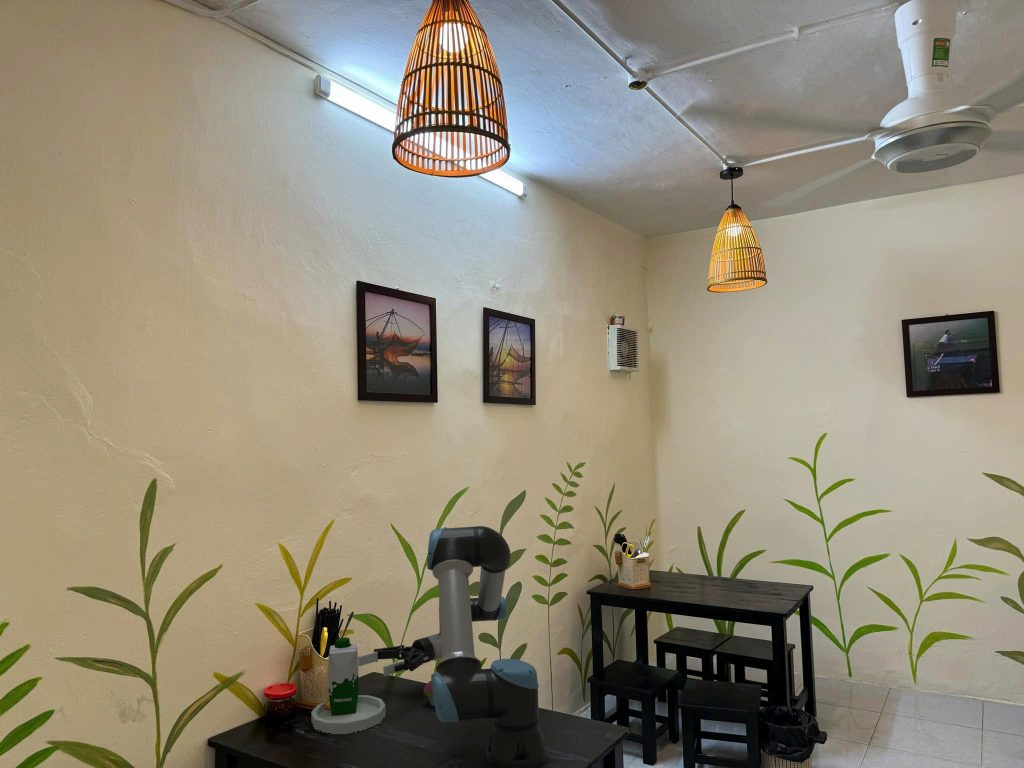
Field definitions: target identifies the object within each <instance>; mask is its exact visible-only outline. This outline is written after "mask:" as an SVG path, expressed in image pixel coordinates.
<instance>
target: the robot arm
mask: <svg viewBox="0 0 1024 768" xmlns="http://www.w3.org/2000/svg"><path fill="white" fill-rule="evenodd" d="M427 547H428V548H427V560H426V561H427V563H426V568H427V570H428V571H429V570H430V571H431V573H432V576H433V577H434V578H435V579H437V583H438V584H437V586H438V617H439V619H438V621H439V623H438V624H439V632H438V633H434V634H431V635H427V636H425V637H421V638H418V639H415V640H414V641H413V642H412V645H411V646H410V645H409V646H405V645H404V644H401V645H396V646H395V645H394V646H389V647H382V648H381V647H380V648H374V649H373V652H370V653H366V654H363V655H360V656H359V655H358V667H361V666H365V665H366V666H367V665H368V664H373V663H378V660H392V659H393V660H394V659H396V660H397V661H396V662H393V663H389V664H387V665H386V664H385V665H383V666H382V668H383V673H382V674H383V677H388V676H390V675H393V674H396V673H400V672H404V671H409V672H413V671H415V670H416V669H418V668H419V667H420V666H422V665H424V664H427V663H430V662H431V661H434V662H435V661H437V660H438V659H441V660H440V661H438V663H437V664H436V671H434V672H432V673H431V675H430V681H431V683H432V690H433V699H434V705H435V707H434V709H435V710H434V711H435V714H436V718H437V719H438V720H439V721H440V722H441V723H459V722H468V721H480V720H482V721H483V720H489V719H490V720H491V719H492V724H493V725H492V726H493V727H492V731H491V735H490V738H489V742H488V745H487V749H486V755H487V756H486V757H487V762H488V764H489V765H491V766H492V767H493V768H539V767H541V766H542V765H543V764H545V763H546V761H547V760H548V747H547V745H546V741H545V739H544V735H543V732H542V730H541V727H540V717H539V716H540V713H539V712H540V711H539V708H540V707H539V682H538V674H537V673H538V672H537V669H536V668H535V667H534V666H533V665H532V664H531V663H529V662H526V661H525V660H520V659H514V658H513V659H512V658H499V659H495V660H493V661H492V662H491V665H490V668H482V667H483V666H482V661H481V660H480V658H478V657H476V655H475V644H474V633H473V631H474V630H473V629H474V628H473V622H489V621H493V622H495V621H500V620H504V619H505V618H506V615H507V604H506V603H507V602H506V599H505V597H504V596H502V594H503V587H504V581H505V575H506V571H507V569H508V567H509V566H510V563H511V548H510V546H509V544H508V542H507V541H506V539H505V538H504V536H503V535H501V534H500V533H499V532H498V531H497V530H495V529H493V528H490V527H488V526H484V525H477V526H464V527H463V526H460V527H446V526H445V527H442V528H435V529H433V530H431V531H430V533H429V539H428V546H427ZM479 567H480V575H479V576H480V577H479V584H478V595H477V596H478V597H471V593H470V591H471V590H470V581H469V579H470V576H471V575H472V574H473V572H474V568H479Z"/></svg>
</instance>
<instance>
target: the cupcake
mask: <svg viewBox="0 0 1024 768" xmlns="http://www.w3.org/2000/svg"><path fill="white" fill-rule="evenodd" d="M423 694H424V695H425V696H427V698H428V700H429V703H430V706H431V705H432V706H431V707H433V706H435V705H434V699H433V690H432V683H431V680H430V681H428V682H427V683H426V684H425V685H424V688H423Z"/></svg>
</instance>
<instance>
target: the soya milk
mask: <svg viewBox="0 0 1024 768" xmlns="http://www.w3.org/2000/svg"><path fill="white" fill-rule="evenodd" d="M327 657H328V658H327V660H328V662H327V664H328V665H327V680H328V682H327V683H328V685H327V687H328V688H327V691H328V700H329V702H330V708H331V715H332V716H334V715H342V714H351V713H356V708H357V701H358V695H359V690H360V689H359V688H360V686H359V685H360V684H359V681H360V680H359V666H358V657H359V652H358V647H357V643H351V639H350V637H345V636H343V637H339V638H336V640H335V645H330V647H329V652H328V656H327Z"/></svg>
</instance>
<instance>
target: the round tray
mask: <svg viewBox="0 0 1024 768" xmlns="http://www.w3.org/2000/svg"><path fill="white" fill-rule="evenodd" d="M322 703H323V704H322ZM322 703H318V704H317V705H316V707H314V708H313V710H312V711H311V712H310V713H311V724H313V725H312V728H313V727H314V728H313V730H314V729H316V730H315V731H317V730H319V731H318V732H320V731H322V732H321V733H323V732H325V733H331V734H330V735H349V733H350V734H354V733H353V732H355V733H358V732H357V731H360V732H363V731H362V730H365V731H367V730H366V729H368V728H370V727H372V726H374V725H376V724H378V725H379V723H380V724H381V723H382V722H383V720H384V719H385V718H386V716H387V714H386V713H387V712H386V704H385V702H384V701H383V700H382V699H381V698H380V697H377V696H373V695H369V694H367V695H366V694H365V695H364V694H363V695H360V694H358V701H357V708H356V713H351V714H342V715H334V716H332V715H331V710H325V704H324V702H322ZM383 718H384V719H383ZM381 721H382V722H381ZM376 726H377V725H376ZM374 727H375V726H374ZM372 728H373V727H372ZM370 729H371V728H370ZM368 730H369V729H368ZM325 733H324V734H325Z"/></svg>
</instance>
